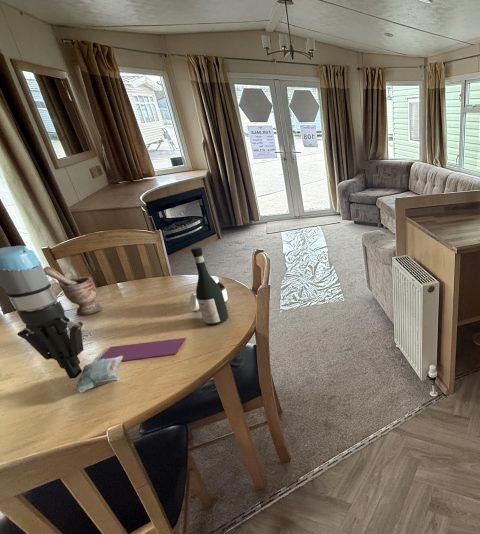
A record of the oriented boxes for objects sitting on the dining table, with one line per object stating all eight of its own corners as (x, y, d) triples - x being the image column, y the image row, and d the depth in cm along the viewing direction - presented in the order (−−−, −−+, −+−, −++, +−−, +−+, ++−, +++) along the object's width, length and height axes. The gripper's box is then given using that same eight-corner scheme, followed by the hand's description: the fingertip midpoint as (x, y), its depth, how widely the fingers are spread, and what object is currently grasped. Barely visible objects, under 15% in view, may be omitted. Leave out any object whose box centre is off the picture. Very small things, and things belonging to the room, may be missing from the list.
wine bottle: (217, 328, 125) (195, 253, 112) (199, 324, 127) (175, 250, 114) (233, 316, 132) (214, 245, 120) (216, 313, 134) (196, 242, 121)
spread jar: (232, 302, 142) (226, 277, 137) (209, 316, 132) (202, 290, 127) (209, 297, 145) (202, 273, 140) (185, 311, 135) (176, 285, 130)
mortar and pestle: (62, 322, 126) (37, 274, 117) (64, 312, 131) (40, 265, 123) (104, 311, 133) (83, 265, 124) (104, 303, 138) (84, 258, 130)
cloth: (93, 365, 105) (93, 364, 105) (110, 347, 113) (110, 346, 113) (175, 354, 111) (175, 353, 111) (186, 338, 119) (185, 337, 119)
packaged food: (125, 362, 107) (119, 349, 105) (121, 385, 98) (114, 372, 96) (88, 373, 102) (81, 360, 100) (79, 398, 94) (72, 384, 91)
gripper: (78, 295, 92) (110, 363, 102) (18, 300, 89) (57, 370, 99) (58, 309, 86) (95, 380, 96) (-8, 315, 83) (37, 388, 92)
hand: (76, 375), depth 97 cm, fingers closed
